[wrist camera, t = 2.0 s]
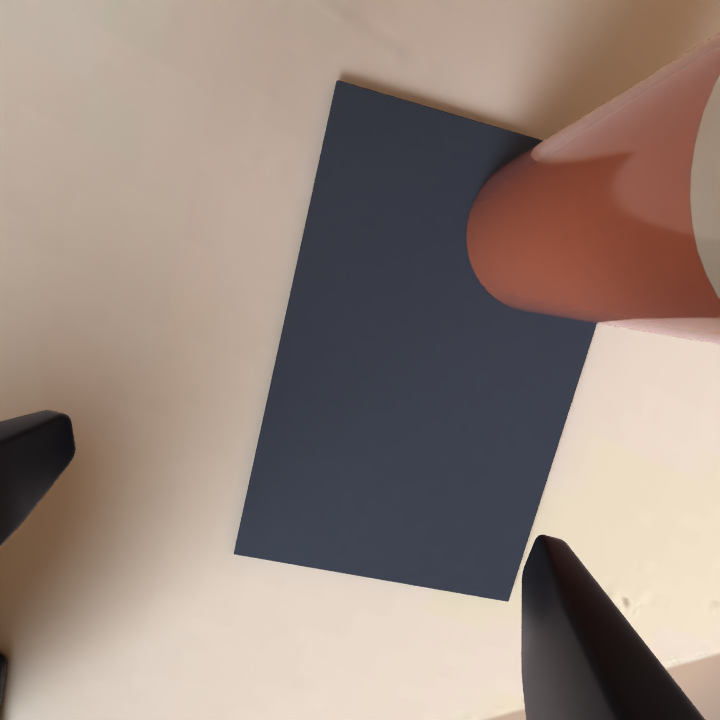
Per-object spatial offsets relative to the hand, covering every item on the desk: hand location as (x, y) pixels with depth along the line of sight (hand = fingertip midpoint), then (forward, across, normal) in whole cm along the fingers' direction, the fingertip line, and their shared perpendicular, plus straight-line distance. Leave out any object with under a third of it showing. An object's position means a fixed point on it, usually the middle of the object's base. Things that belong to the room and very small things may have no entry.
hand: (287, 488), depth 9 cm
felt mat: (+12, -2, +3) cm, 13 cm away
